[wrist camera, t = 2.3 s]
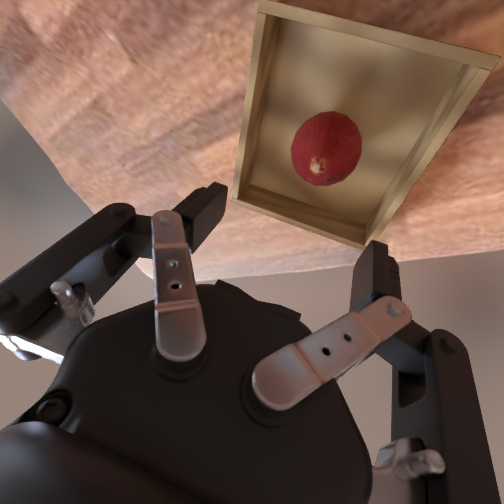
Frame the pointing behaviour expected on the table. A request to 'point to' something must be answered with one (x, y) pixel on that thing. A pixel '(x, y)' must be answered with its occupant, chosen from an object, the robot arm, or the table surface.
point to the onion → (326, 148)
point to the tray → (355, 107)
